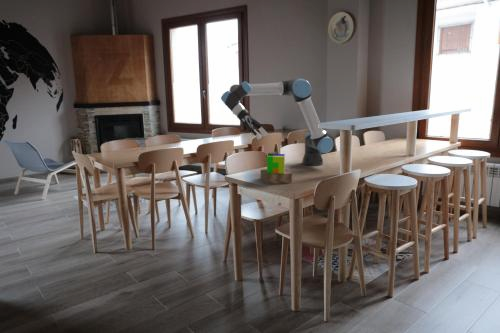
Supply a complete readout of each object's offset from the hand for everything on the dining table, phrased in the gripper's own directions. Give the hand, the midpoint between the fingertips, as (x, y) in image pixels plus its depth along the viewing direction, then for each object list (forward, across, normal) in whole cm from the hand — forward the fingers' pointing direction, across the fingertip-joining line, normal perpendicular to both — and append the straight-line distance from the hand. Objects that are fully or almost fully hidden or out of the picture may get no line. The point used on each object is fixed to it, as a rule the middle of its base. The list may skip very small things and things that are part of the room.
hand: (263, 137), depth 245 cm
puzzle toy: (+21, +8, -7) cm, 24 cm away
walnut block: (+25, +8, -11) cm, 29 cm away
